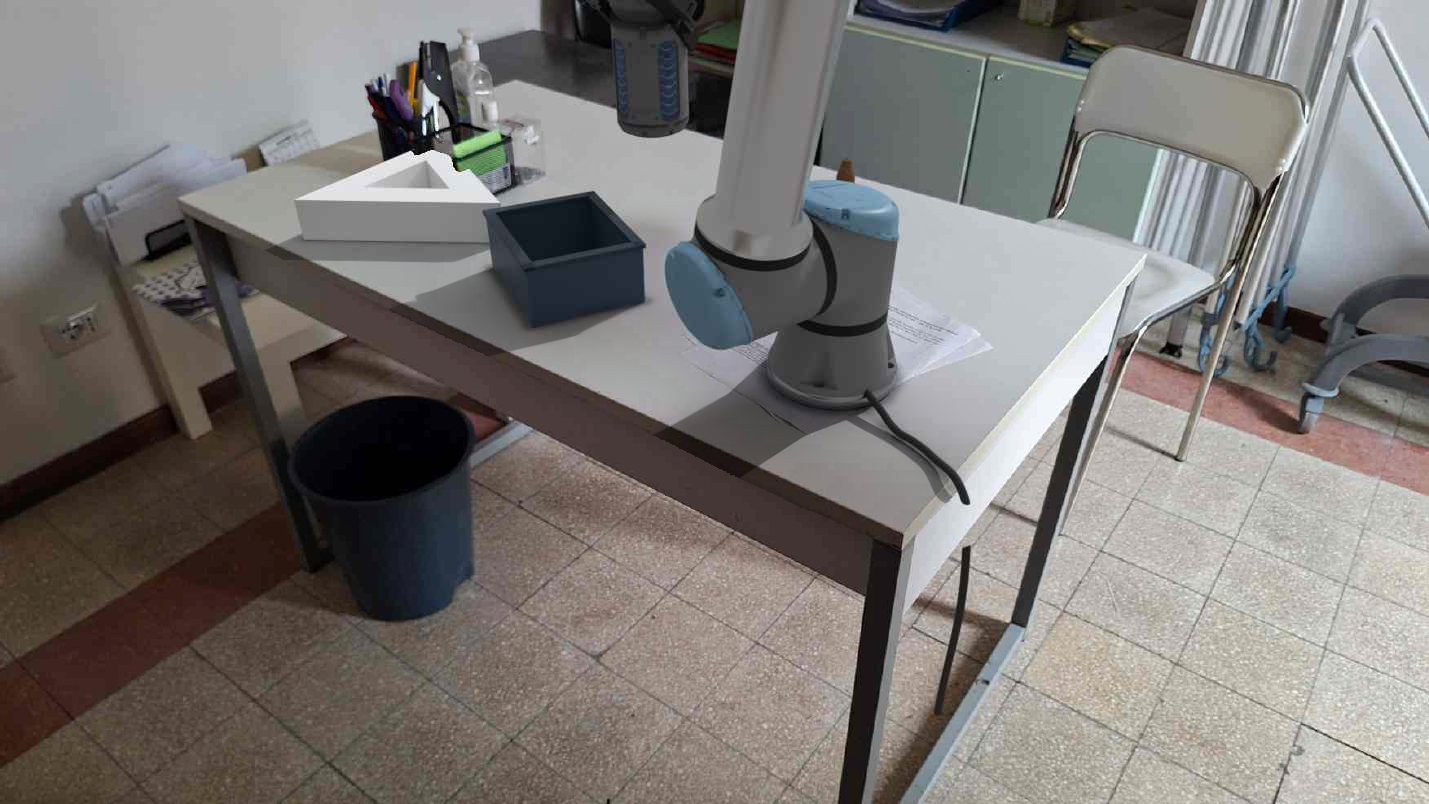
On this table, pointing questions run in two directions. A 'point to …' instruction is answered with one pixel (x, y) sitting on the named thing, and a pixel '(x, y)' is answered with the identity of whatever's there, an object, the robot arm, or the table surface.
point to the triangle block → (400, 203)
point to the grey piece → (648, 71)
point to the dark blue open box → (566, 257)
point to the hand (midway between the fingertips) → (660, 36)
